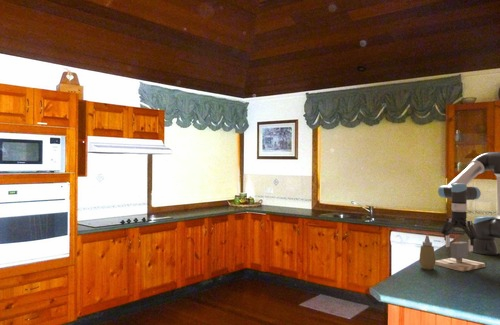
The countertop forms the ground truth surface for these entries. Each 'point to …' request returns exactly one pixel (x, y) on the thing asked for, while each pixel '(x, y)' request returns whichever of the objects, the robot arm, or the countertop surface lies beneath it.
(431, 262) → the squeeze bottle
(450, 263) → the base
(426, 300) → the countertop surface
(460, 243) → the grey block
